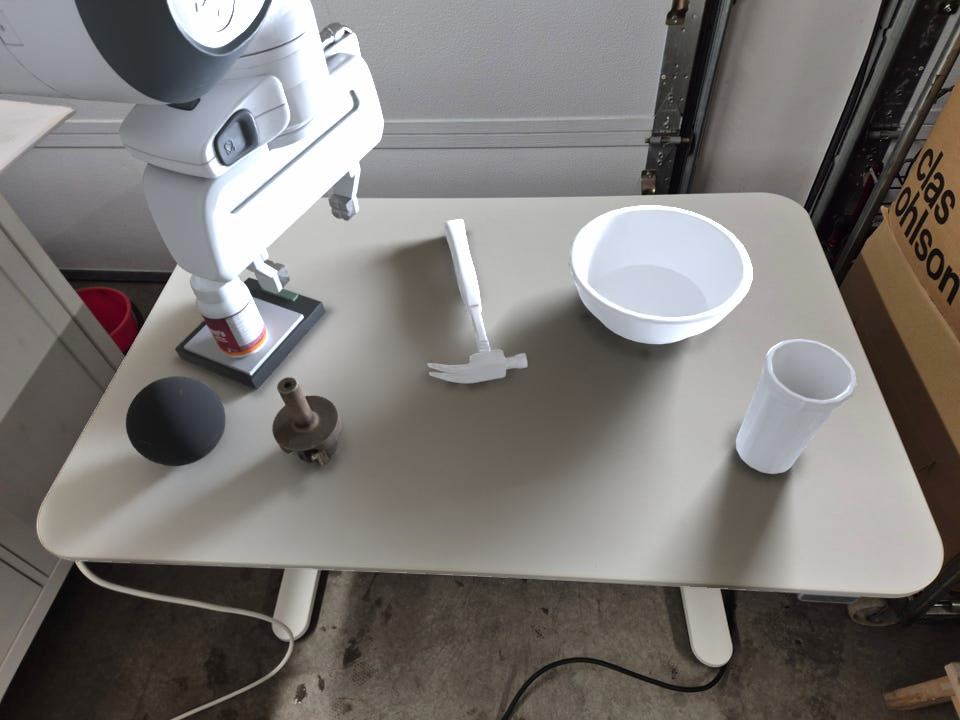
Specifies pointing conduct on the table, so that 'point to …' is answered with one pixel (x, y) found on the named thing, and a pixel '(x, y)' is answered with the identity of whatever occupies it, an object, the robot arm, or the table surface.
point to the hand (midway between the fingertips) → (313, 248)
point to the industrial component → (306, 424)
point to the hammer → (473, 320)
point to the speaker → (175, 421)
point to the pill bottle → (230, 316)
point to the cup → (792, 402)
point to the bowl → (658, 272)
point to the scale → (285, 328)
